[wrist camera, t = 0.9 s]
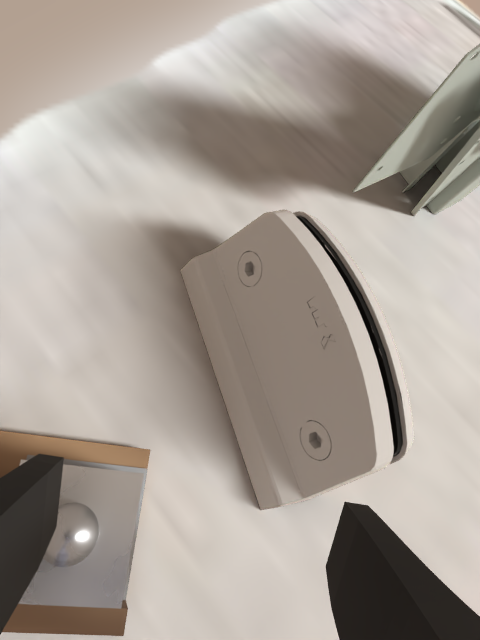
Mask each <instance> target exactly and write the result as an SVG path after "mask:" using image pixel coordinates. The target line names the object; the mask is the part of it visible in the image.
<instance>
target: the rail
mask: <svg viewBox="0 0 480 640" xmlns="http://www.w3.org/2000/svg"><path fill="white" fill-rule="evenodd" d="M38 454H45V455H51V456H58V457H64V461H63V464H65V465H74V466H83V467H91V468H100V469H109V470H117V471H126V472H135V473H144V477H143V483H142V488H141V494H140V500H139V506H138V512H137V518H136V524H135V530H134V536H133V542H132V548H131V554H130V560H129V565H128V571H127V577H126V583H125V589H124V595H123V601H122V607H121V609H118V608H96V607H74V606H51V605H29V604H18V605H17V607H16V608H15V610H14V612H13V614H12V615H11V617H10V619H9V620H8V622H7V624H6V626H5V627H4V629H3V631H2V632H16V633H48V634H80V635H112V636H123V635H124V629H125V622H126V616H127V610H128V608H127V604H126V595H127V589H128V583H129V577H130V571H131V565H132V559H133V553H134V547H135V541H136V535H137V529H138V523H139V517H140V511H141V505H142V499H143V493H144V487H145V481H146V475H147V467H148V461H149V455H150V450H148V449H140V448H132V447H124V446H116V445H109V444H101V443H93V442H85V441H77V440H69V439H61V438H54V437H46V436H38V435H30V434H22V433H14V432H6V431H0V478H1V477H3V476H4V475H6V474H7V473H9V472H11V471H12V470H14V469H15V468H17V467H18V466H19V465H20V462H21V460H29V459H31V458H33V457H34V456H36V455H38Z"/></svg>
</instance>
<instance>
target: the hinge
mask: <svg viewBox="0 0 480 640" xmlns="http://www.w3.org/2000/svg"><path fill="white" fill-rule="evenodd" d="M180 271H181V274H182V277H183V280H184V283H185V286H186V289H187V292H188V295H189V298H190V301H191V304H192V307H193V310H194V313H195V316H196V319H197V322H198V325H199V328H200V331H201V334H202V337H203V340H204V343H205V346H206V349H207V352H208V355H209V358H210V361H211V364H212V367H213V370H214V373H215V376H216V379H217V381H218V384H219V387H220V390H221V393H222V396H223V399H224V402H225V405H226V408H227V411H228V414H229V417H230V420H231V423H232V426H233V429H234V432H235V435H236V438H237V441H238V444H239V447H240V450H241V453H242V456H243V459H244V462H245V465H246V468H247V471H248V474H249V477H250V480H251V483H252V486H253V489H254V492H255V495H256V498H257V501H258V504H259V507H260V510H264V509H270V508H276V507H281V506H285V505H289V504H293V503H298V502H302V501H306V500H309V499H311V498H314V497H316V496H319V495H321V494H324V493H326V492H328V491H331V490H333V489H336V488H338V487H341V486H343V485H346V484H348V483H350V482H353V481H355V480H358V479H360V478H363V477H365V476H368V475H370V474H372V473H375V472H377V471H380V470H382V469H385V468H386V467H387V466H388V465H389V464H392V463H394V462H396V461H399V460H400V459H401V458H402V457H403V456H404V455H405V454H406V452H407V451H408V450H409V448H410V447H411V446H412V444H413V441H414V430H413V420H412V411H411V406H410V400H409V394H408V388H407V384H406V380H405V375H404V371H403V367H402V364H401V361H400V357H399V354H398V350H397V347H396V344H395V341H394V339H393V336H392V333H391V331H390V328H389V325H388V323H387V321H386V318H385V316H384V314H383V311H382V309H381V307H380V305H379V303H378V301H377V299H376V297H375V295H374V293H373V291H372V289H371V287H370V286H369V284H368V282H367V281H366V279H365V277H364V275H363V274H362V272H361V271H360V269H359V268H358V266H357V265H356V263H355V262H354V260H353V259H352V257H351V256H350V255H349V253H348V252H347V251H346V249H345V248H344V247H343V245H342V244H341V243H340V242H339V241H338V240H337V239H336V237H335V236H334V235H333V234H332V233H331V232H330V231H329V230H328V229H327V228H326V227H325V226H324V225H323V224H322V223H321V222H320V221H319V220H318V219H317V218H315V217H313V216H311V215H308V214H306V213H304V212H295V213H292V212H290V211H287V210H279V211H274V212H267V213H264V214H263V215H261V216H260V217H258V218H257V219H256V220H254V221H253V222H251V223H250V224H249V225H247V226H246V227H244V228H243V229H242V230H240V231H239V232H237V233H236V234H235V235H233V236H232V237H230V238H229V239H228V240H226V241H225V242H224V243H222V244H221V245H219V246H218V247H217V248H215V249H213V250H211V251H209V252H206V253H203V254H201V255H198V256H196V257H194V258H192V259H191V260H190V261H189V262H188V263H187V264H186V265H185V266H184V267H183V268H182V269H181V270H180Z"/></svg>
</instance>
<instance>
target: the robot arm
mask: <svg viewBox="0 0 480 640" xmlns="http://www.w3.org/2000/svg"><path fill="white" fill-rule="evenodd" d="M63 461H64V457H58V456H51V455H45V454H38V455H36V456H34V457H33V458H31V459H29V460H28V461H26V462H25V463H23V464H22V465H20V466H18V467H17V468H15V469H14V470H12V471H11V472H9V473H7V474H6V475H4V476H3V477H1V478H0V634H1V632H2V631H3V629H4V627H5V626H6V624H7V622H8V620H9V619H10V617H11V615H12V614H13V612H14V610H15V608H16V607H17V605H18V603H19V601H20V600H21V598H22V596H23V594H24V593H25V591H26V589H27V587H28V586H29V584H30V582H31V580H32V579H33V577H34V575H35V573H36V572H37V570H38V568H39V566H40V564H41V562H42V559H43V557H44V555H45V553H46V550H47V548H48V546H49V543H50V541H51V539H52V536H53V534H54V532H55V529H56V527H57V518H58V508H59V499H60V490H61V480H62V471H63ZM326 572H327V580H328V588H329V595H330V601H331V608H332V612H333V616H334V620H335V624H336V628H337V632H338V635H339V639H340V640H480V616H478V615H477V614H476V613H475V612H474V611H473V610H472V609H471V608H469V607H468V606H467V605H466V604H465V603H464V602H463V601H462V600H461V599H460V598H459V597H458V596H457V595H456V594H454V593H453V592H452V591H451V590H450V589H449V588H448V587H447V586H446V585H445V584H444V583H443V582H442V581H441V580H440V579H439V578H438V577H437V576H436V575H435V574H434V573H433V572H432V571H431V570H430V569H429V568H428V567H427V566H426V565H425V564H424V563H423V562H422V561H421V560H420V559H419V558H418V557H417V556H416V555H415V554H414V553H413V552H412V551H411V550H410V549H409V548H408V547H407V546H406V545H405V544H404V542H403V541H402V540H401V539H400V538H399V537H398V536H397V535H396V534H395V533H394V532H393V531H392V530H391V529H390V528H389V527H388V525H387V524H386V523H385V522H384V521H383V520H382V519H381V518H380V517H379V516H378V515H377V514H376V513H375V512H374V511H373V510H372V509H371V508H370V507H369V506H368V505H361V504H355V503H349V502H345V503H344V506H343V510H342V513H341V516H340V520H339V523H338V527H337V530H336V533H335V537H334V540H333V544H332V547H331V550H330V554H329V557H328V561H327V564H326Z"/></svg>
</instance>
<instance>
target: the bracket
mask: <svg viewBox="0 0 480 640" xmlns="http://www.w3.org/2000/svg"><path fill="white" fill-rule="evenodd" d="M475 53H476V55H475V56H474V57H472V56H473V55H474V54H475ZM471 57H472V58H471ZM434 165H436V167H437V168H438V169H439V170H440V172H442V174H441V175H440V177H439V178H438V179H437V180H436V182H435V183H434V184H433V185H432V187H431V188H430V189H429V190H428V192H427V193H426V194H425V195H424V196H423V198H422V199H421V200H420V201H419V203H418V204H417V205H416V206H415V208H414V209H413V210H412V211H411V213H412V215H413V216H415V215H416V214H417V212H418V211H419V210H420V209H421V208H423V207H424V206H427V207H428V208H429V210H430V211H431V212H432V213H433V214H437V213H439V212H441V211H442V210H444V209H446V208H448V207H450V206H452V205H453V204H455V203H457V202H459V201H461V200H462V199H463V198H464V197H466V196H467V195H468V194H469V193H471V192H472V191H473V190H474V189H475V188H477V187H478V186H479V185H480V44H479V45H477V46H476V47H475V48H474V49H472V50H471V51H470V52H468V53H467V54H466V55H465V56H464V57H463V58H462V60H461V61H460V62H459V63H458V65H457V66H456V67H455V68H454V69H453V71H452V72H451V73H450V74H449V75H448V77H447V78H446V79H445V80H444V81H443V83H442V84H441V85H440V86H439V87H438V89H437V90H436V91H435V92H434V93H433V95H432V96H431V97H430V98H429V100H428V101H427V102H426V103H425V104H424V106H423V107H422V108H421V109H420V110H419V112H418V113H417V114H416V115H415V116H414V118H413V119H412V120H411V121H410V122H409V124H408V125H407V126H406V127H405V129H404V130H403V131H402V132H401V133H400V135H399V136H398V137H397V138H396V139H395V141H394V142H393V143H392V144H391V145H390V147H389V148H388V149H387V150H386V151H385V153H384V154H383V155H382V156H381V158H380V159H379V160H378V161H377V162H376V164H375V165H374V166H373V167H372V168H371V170H370V171H369V172H368V173H367V174H366V176H365V177H364V178H363V179H362V180H361V182H360V183H359V184H358V185H357V187H356V188H355V189H354V190H353V191H352V192H353V193H354V192H356V191H358V190H360V189H363V188H365V187H367V186H369V185H371V184H374V183H376V182H378V181H380V180H382V179H385V178H387V177H389V176H391V175H393V174H396V173H398V172H400V174H401V175H402V176H403V177H404V179H405V180H406V181H407V183H408V184H409V185H408V186H407V187H406V188H405V189H404V190H403V191H402V192H405V191H407V190H409V189H411V188H412V187H413V186H414V185H415V184H416V183H417V182H418V181H419V180H420V179H421V178H422V177H423V176H424V175H425V174H426V173H427V172H428V171H429V170H430V169H431V168H432V167H433V166H434Z"/></svg>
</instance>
